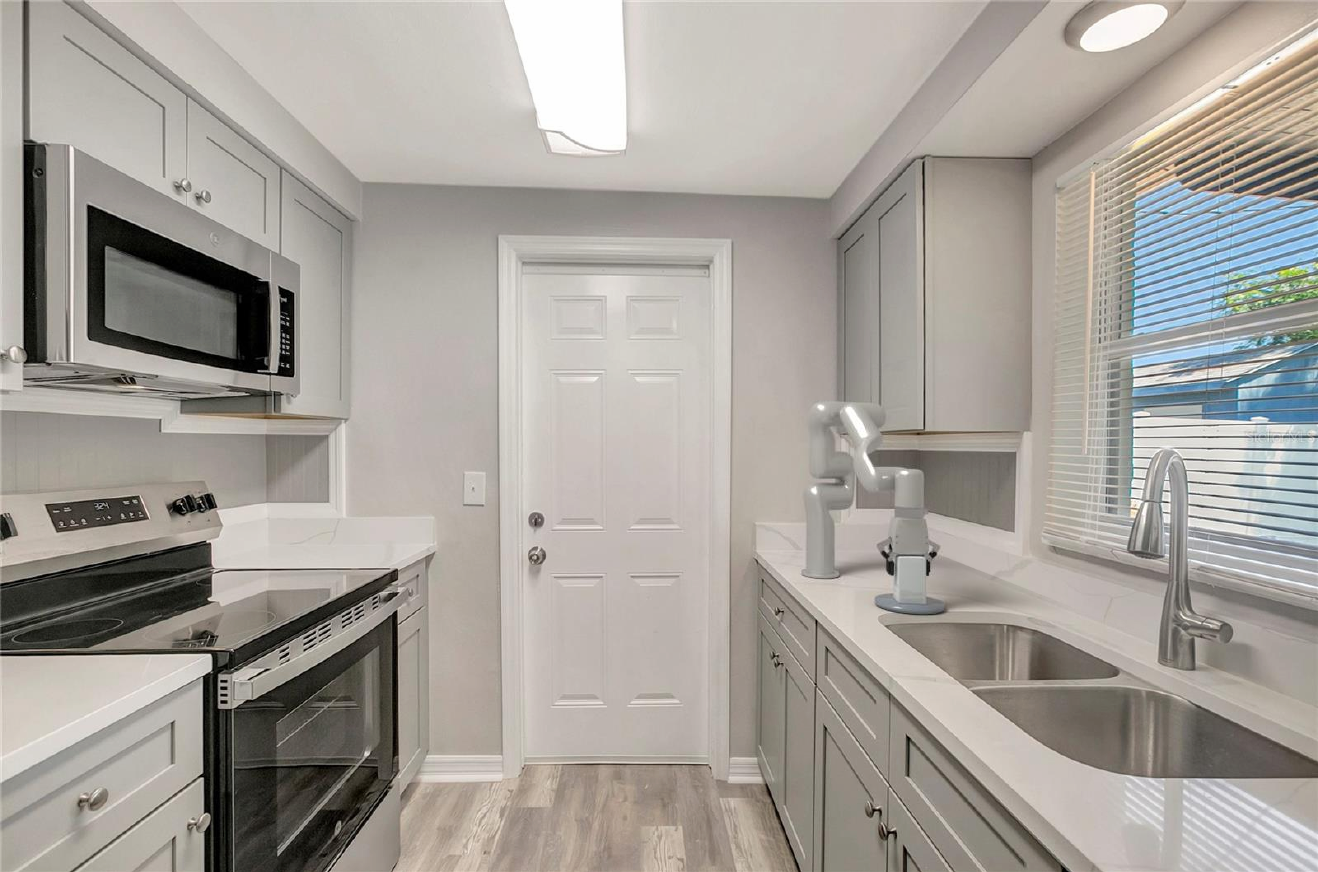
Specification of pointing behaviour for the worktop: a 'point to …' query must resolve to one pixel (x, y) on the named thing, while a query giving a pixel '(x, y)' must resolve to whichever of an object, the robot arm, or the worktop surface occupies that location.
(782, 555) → the worktop surface
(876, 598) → the slate dish
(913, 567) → the supplement box
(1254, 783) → the worktop surface
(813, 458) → the robot arm
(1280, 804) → the worktop surface
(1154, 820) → the worktop surface
